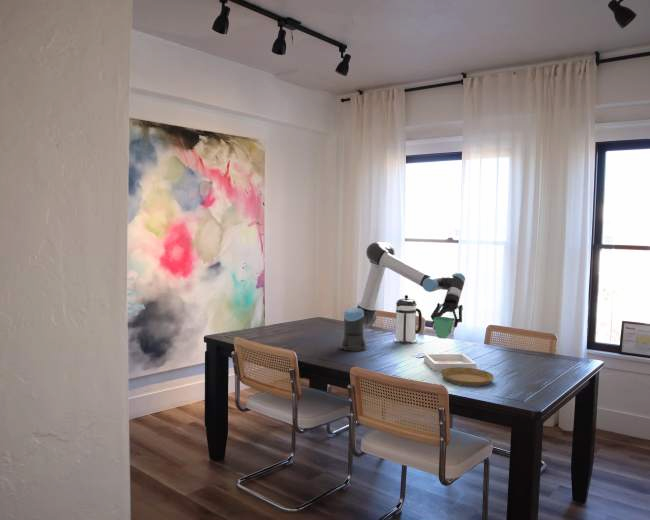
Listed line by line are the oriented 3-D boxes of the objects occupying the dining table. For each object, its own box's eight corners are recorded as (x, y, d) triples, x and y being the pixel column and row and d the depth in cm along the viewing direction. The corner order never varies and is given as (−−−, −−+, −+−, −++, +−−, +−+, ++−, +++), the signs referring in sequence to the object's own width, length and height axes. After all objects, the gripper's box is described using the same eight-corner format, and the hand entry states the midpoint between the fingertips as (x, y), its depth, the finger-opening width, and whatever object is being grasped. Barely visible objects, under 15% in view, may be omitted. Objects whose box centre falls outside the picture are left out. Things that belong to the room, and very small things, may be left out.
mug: (443, 340, 269) (445, 321, 268) (428, 336, 277) (429, 317, 276) (461, 337, 279) (462, 318, 278) (446, 333, 286) (447, 315, 285)
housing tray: (434, 371, 264) (434, 363, 263) (424, 360, 285) (424, 353, 285) (476, 371, 265) (476, 363, 264) (462, 361, 286) (463, 353, 286)
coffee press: (417, 345, 323) (418, 297, 322) (391, 343, 328) (392, 295, 327) (421, 340, 340) (422, 294, 338) (396, 338, 345) (397, 292, 343)
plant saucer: (502, 388, 238) (502, 380, 238) (450, 388, 236) (450, 381, 236) (482, 373, 262) (482, 367, 262) (434, 374, 260) (434, 367, 260)
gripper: (474, 303, 284) (464, 337, 272) (435, 300, 296) (424, 332, 283) (471, 294, 280) (461, 328, 267) (431, 291, 291) (420, 324, 278)
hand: (442, 330), depth 275 cm, fingers closed on mug, 9 cm apart
